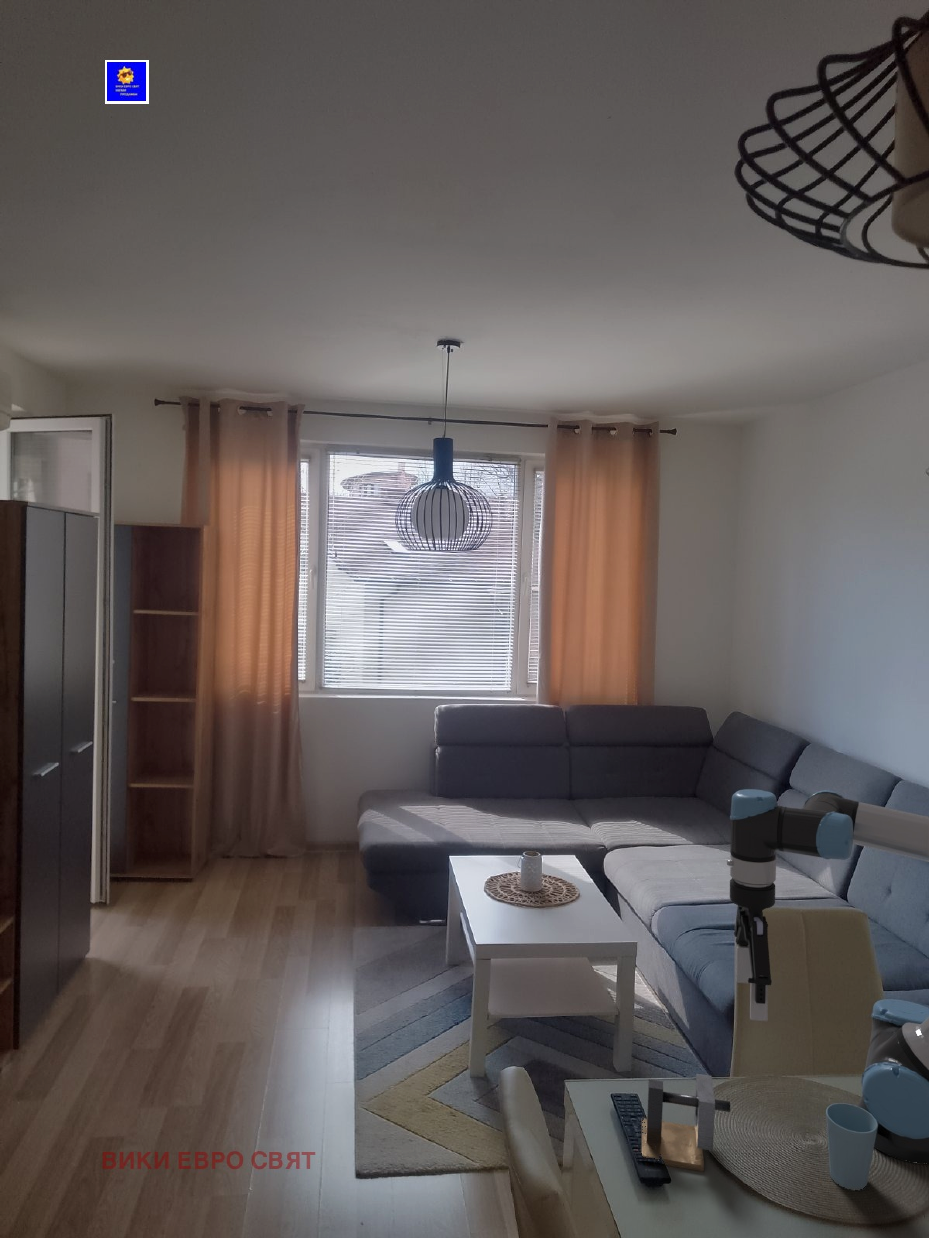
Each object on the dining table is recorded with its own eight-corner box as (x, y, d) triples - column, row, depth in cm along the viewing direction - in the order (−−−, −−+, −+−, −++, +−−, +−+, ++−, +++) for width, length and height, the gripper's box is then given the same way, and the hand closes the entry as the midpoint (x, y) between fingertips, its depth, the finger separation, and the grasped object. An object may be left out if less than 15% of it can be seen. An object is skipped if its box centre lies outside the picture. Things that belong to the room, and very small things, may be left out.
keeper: (724, 1136, 149) (727, 1077, 149) (730, 1175, 139) (733, 1113, 139) (641, 1123, 152) (643, 1066, 151) (641, 1160, 142) (643, 1099, 142)
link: (709, 1120, 149) (711, 1075, 148) (712, 1150, 141) (715, 1103, 140) (694, 1117, 149) (696, 1073, 149) (697, 1147, 141) (699, 1101, 141)
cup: (885, 1188, 138) (888, 1125, 137) (850, 1201, 134) (853, 1137, 134) (846, 1158, 144) (849, 1098, 144) (813, 1170, 141) (815, 1109, 141)
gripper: (719, 856, 162) (718, 966, 163) (742, 905, 137) (741, 1035, 138) (760, 858, 161) (759, 969, 162) (791, 907, 136) (790, 1038, 137)
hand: (751, 1000), depth 150 cm, fingers open, 13 cm apart
